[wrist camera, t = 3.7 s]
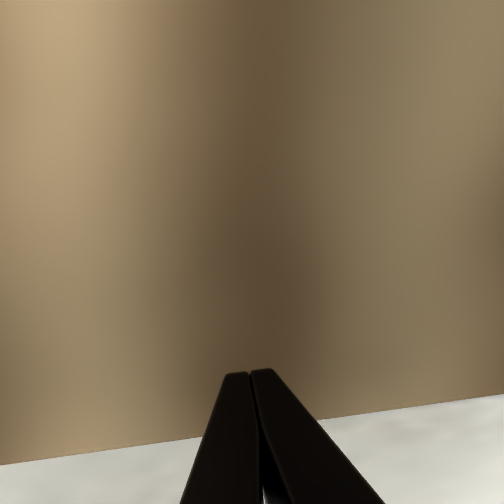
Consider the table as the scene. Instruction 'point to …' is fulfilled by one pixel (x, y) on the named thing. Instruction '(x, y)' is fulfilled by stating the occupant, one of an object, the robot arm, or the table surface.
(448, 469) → the table surface
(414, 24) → the oak plank
